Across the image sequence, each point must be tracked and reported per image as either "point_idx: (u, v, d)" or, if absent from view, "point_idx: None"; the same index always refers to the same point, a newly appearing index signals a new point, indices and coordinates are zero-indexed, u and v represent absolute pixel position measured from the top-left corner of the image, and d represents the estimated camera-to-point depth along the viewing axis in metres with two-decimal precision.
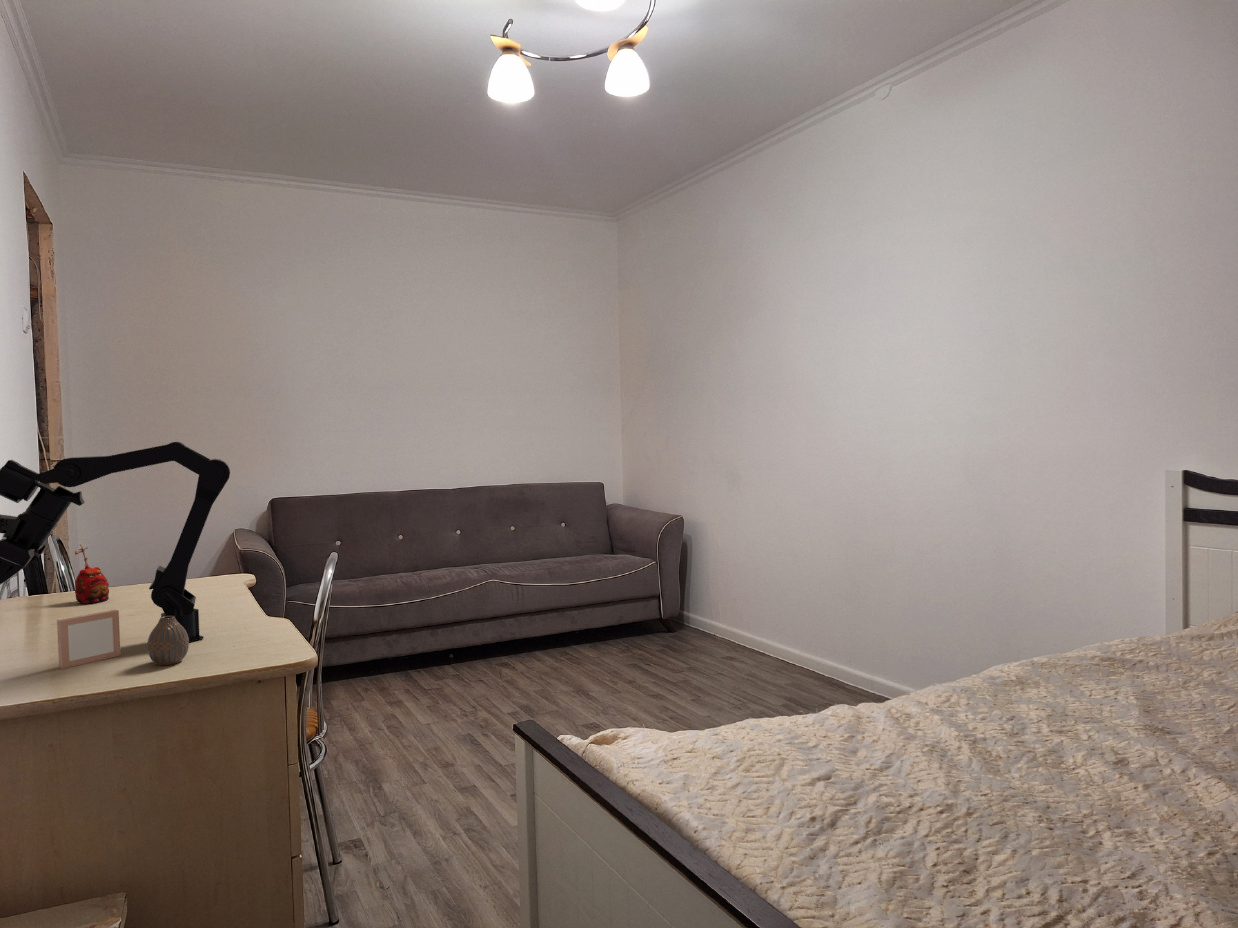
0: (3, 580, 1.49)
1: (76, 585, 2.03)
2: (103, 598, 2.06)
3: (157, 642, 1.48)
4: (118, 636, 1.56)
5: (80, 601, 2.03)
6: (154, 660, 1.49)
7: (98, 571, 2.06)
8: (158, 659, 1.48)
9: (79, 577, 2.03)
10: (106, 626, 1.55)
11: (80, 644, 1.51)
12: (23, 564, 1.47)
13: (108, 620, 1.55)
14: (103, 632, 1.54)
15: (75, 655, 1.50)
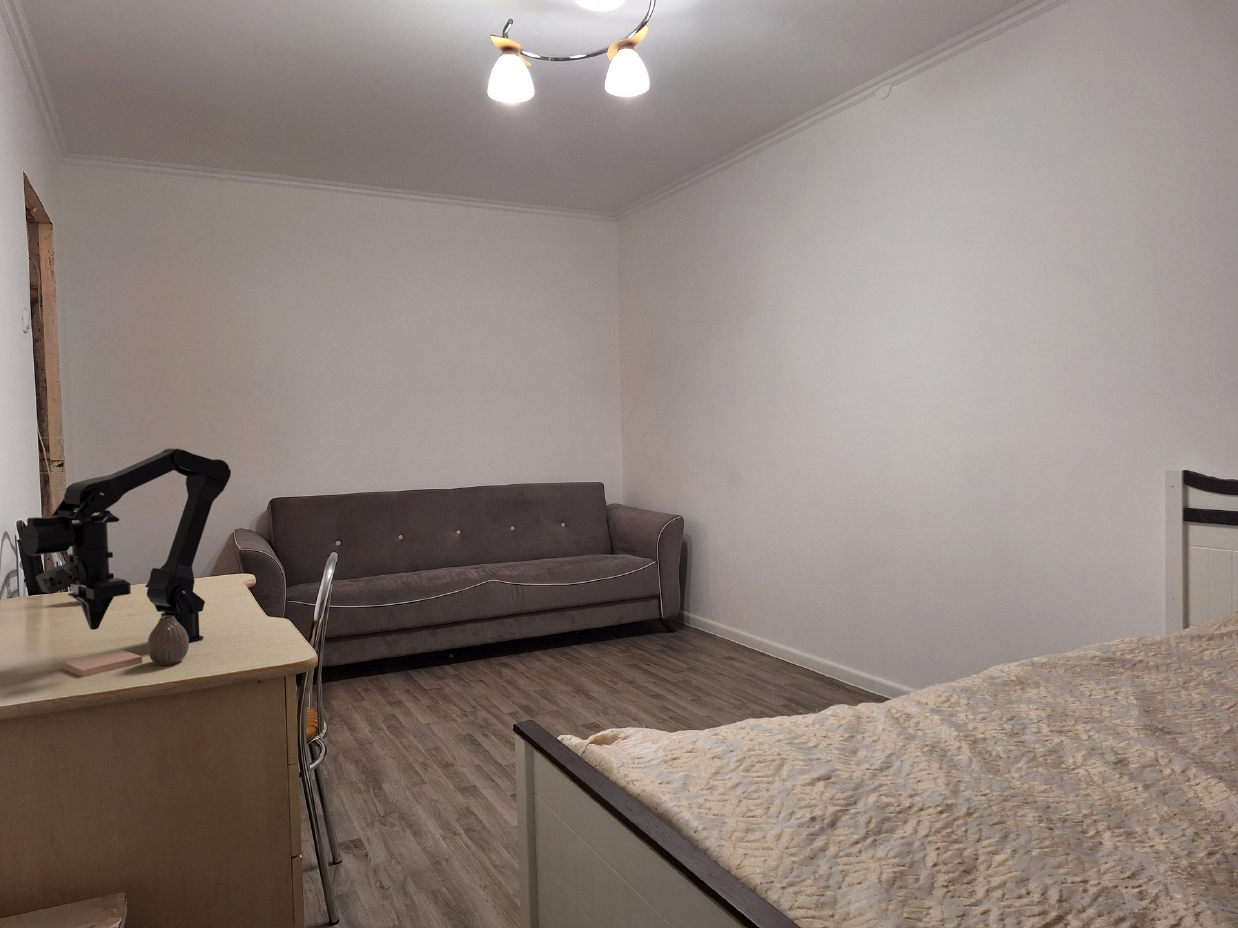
0: (103, 613, 1.52)
1: None
2: None
3: (157, 642, 1.48)
4: None
5: None
6: (154, 660, 1.49)
7: None
8: (158, 659, 1.48)
9: None
10: None
11: None
12: (129, 592, 1.48)
13: None
14: None
15: None
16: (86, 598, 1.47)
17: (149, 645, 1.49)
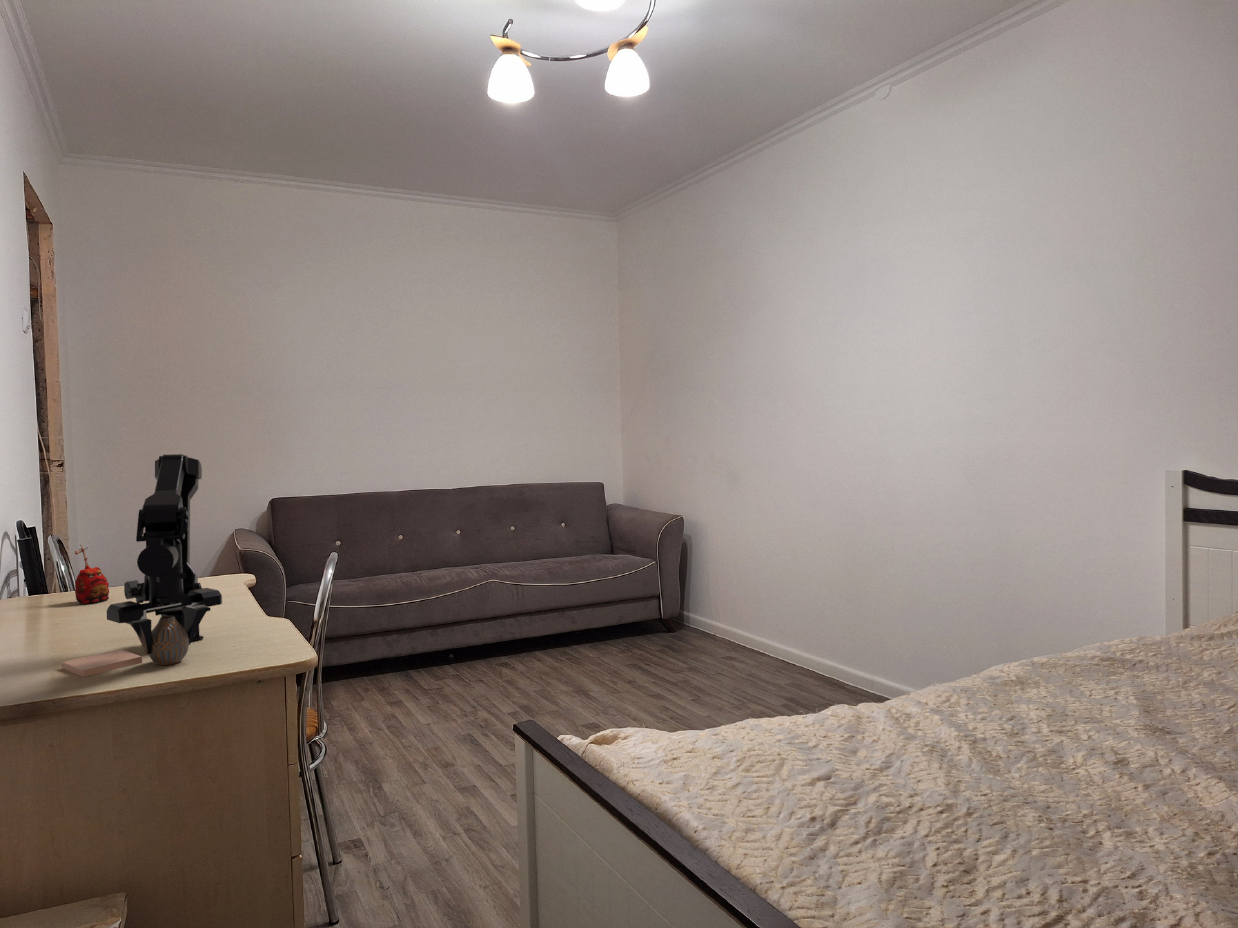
0: (145, 640, 1.47)
1: (76, 585, 2.03)
2: (103, 598, 2.06)
3: (157, 641, 1.48)
4: None
5: (80, 601, 2.03)
6: (154, 660, 1.49)
7: (98, 571, 2.06)
8: (158, 659, 1.48)
9: (79, 577, 2.03)
10: None
11: None
12: (121, 621, 1.42)
13: None
14: None
15: None
16: None
17: None
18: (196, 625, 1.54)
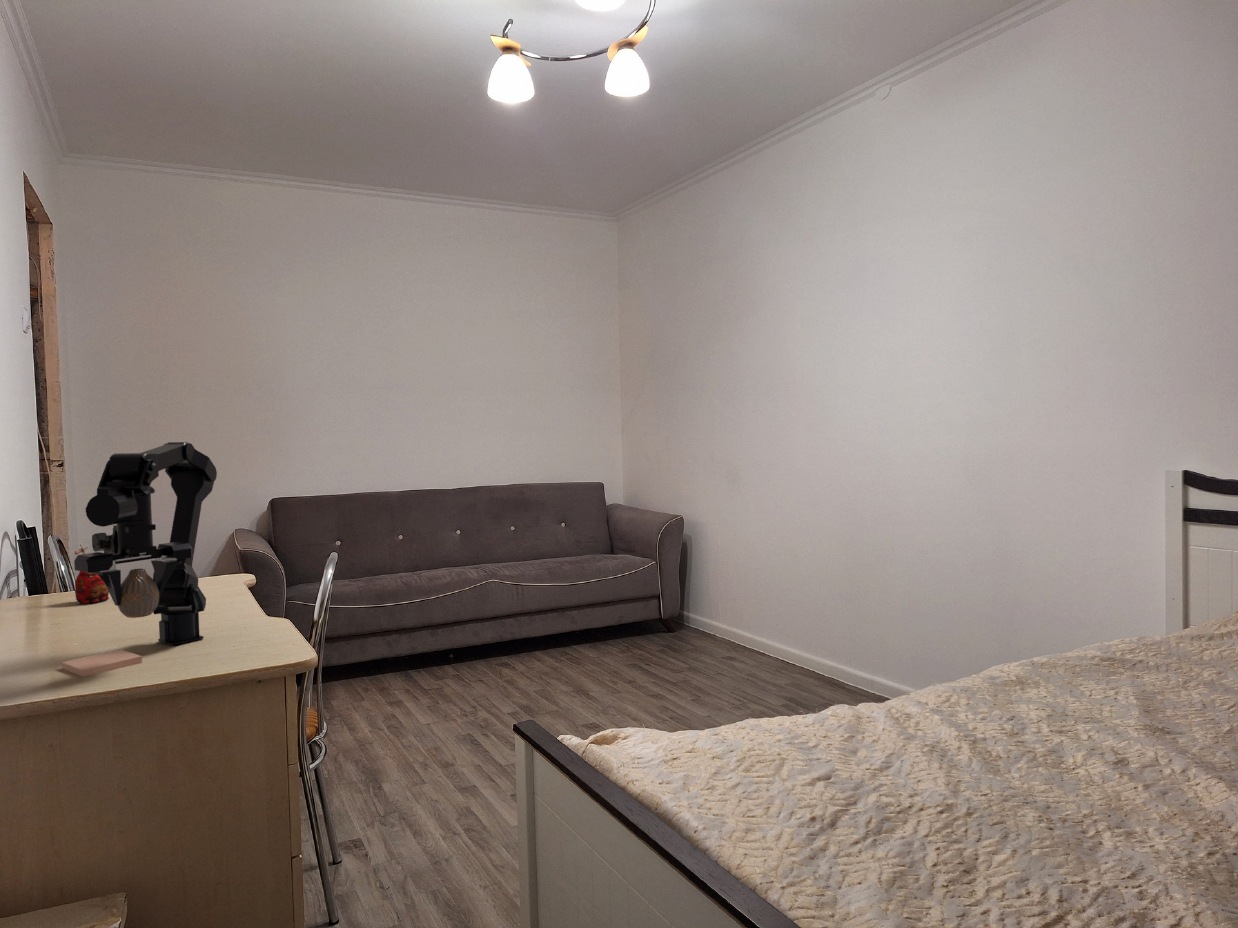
0: (114, 591, 1.46)
1: (76, 585, 2.03)
2: (103, 598, 2.06)
3: (127, 593, 1.47)
4: None
5: (80, 601, 2.03)
6: (124, 612, 1.48)
7: None
8: (128, 611, 1.47)
9: (79, 577, 2.03)
10: None
11: None
12: (90, 570, 1.41)
13: None
14: None
15: None
16: None
17: None
18: (166, 578, 1.53)
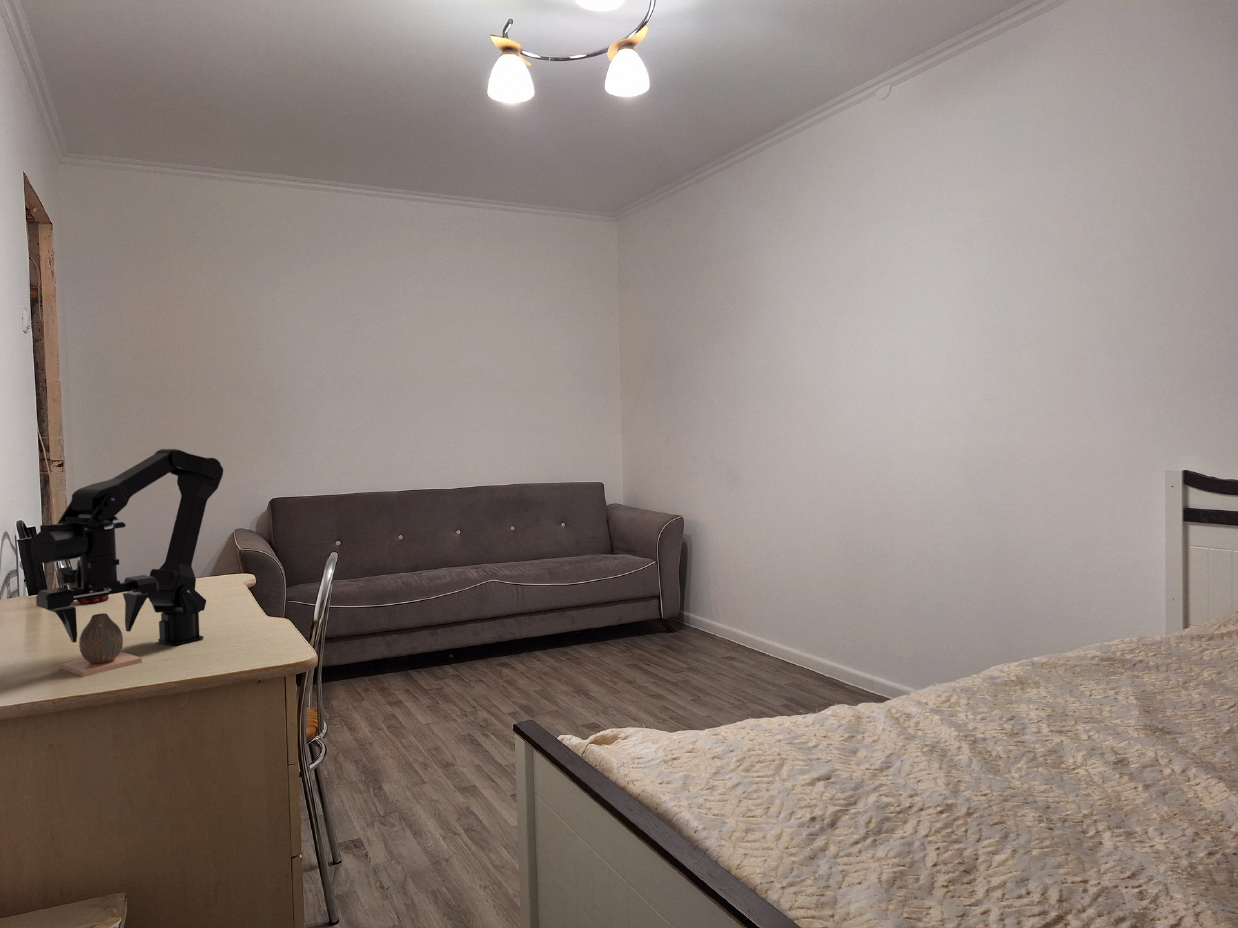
0: (69, 628, 1.44)
1: None
2: (103, 598, 2.06)
3: (88, 639, 1.46)
4: None
5: (80, 601, 2.03)
6: (86, 658, 1.47)
7: None
8: (90, 657, 1.47)
9: None
10: None
11: None
12: (49, 607, 1.40)
13: None
14: None
15: None
16: None
17: (80, 643, 1.47)
18: (136, 611, 1.53)
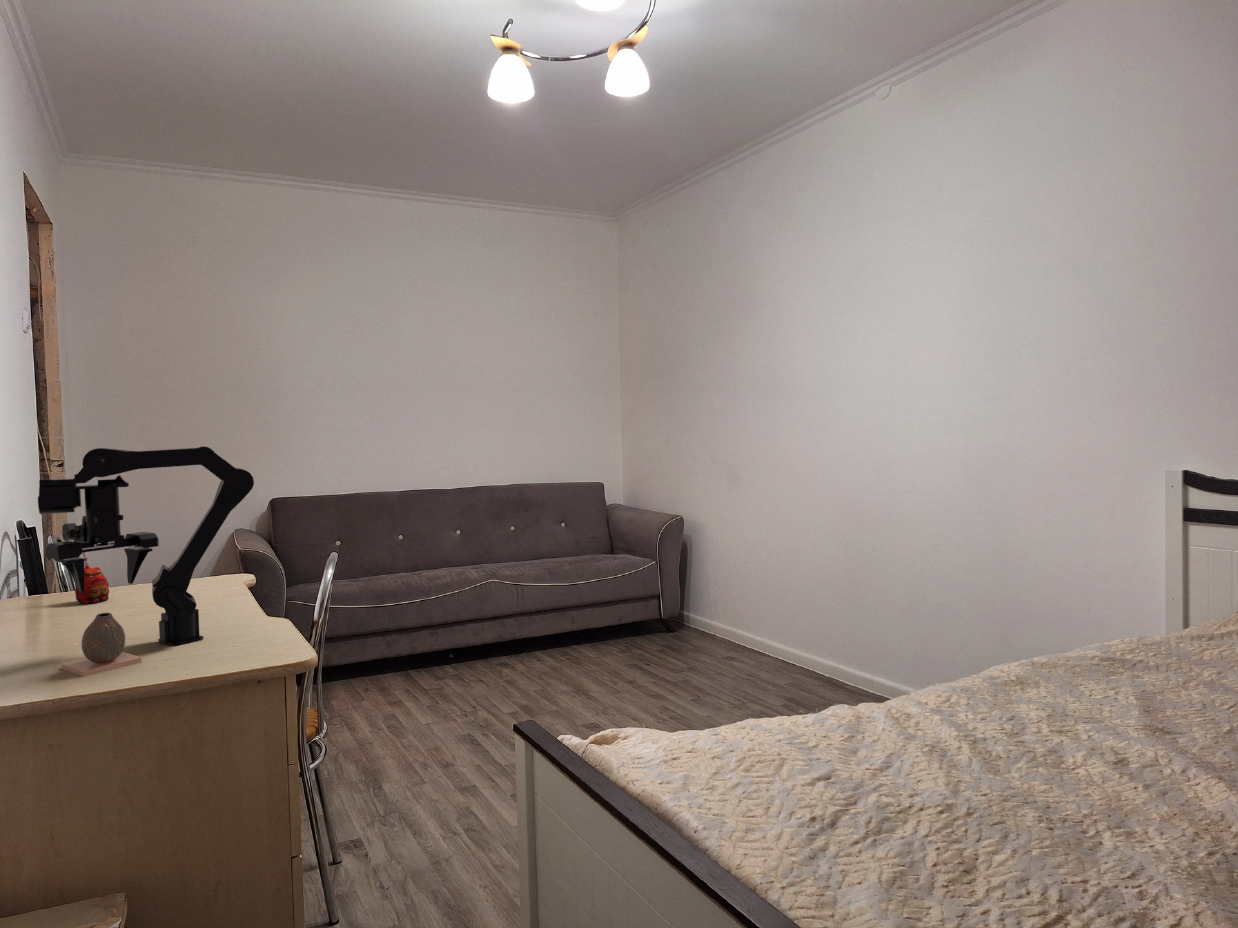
0: (78, 578, 1.54)
1: None
2: (103, 598, 2.06)
3: (89, 640, 1.46)
4: None
5: (80, 601, 2.03)
6: (86, 657, 1.47)
7: (98, 571, 2.06)
8: (89, 657, 1.47)
9: None
10: None
11: None
12: (60, 558, 1.50)
13: None
14: None
15: None
16: (54, 559, 1.54)
17: (82, 641, 1.47)
18: (139, 564, 1.63)
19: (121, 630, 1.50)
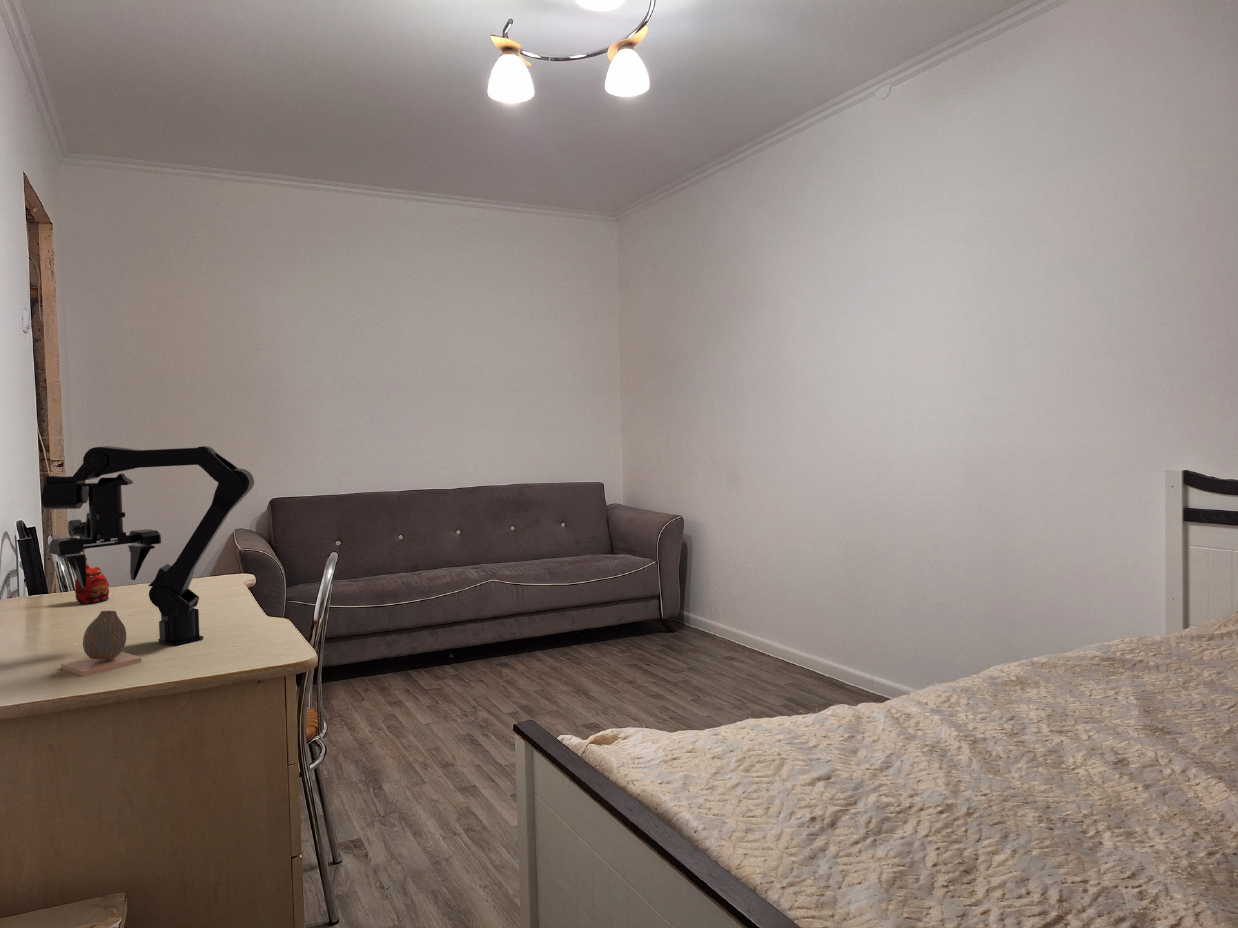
0: (80, 574, 1.57)
1: (76, 585, 2.03)
2: (103, 598, 2.06)
3: (87, 632, 1.48)
4: None
5: (80, 601, 2.03)
6: (84, 651, 1.49)
7: (98, 571, 2.06)
8: (85, 650, 1.48)
9: None
10: None
11: None
12: (62, 553, 1.53)
13: None
14: None
15: None
16: (58, 555, 1.57)
17: None
18: (141, 561, 1.66)
19: (120, 628, 1.50)
